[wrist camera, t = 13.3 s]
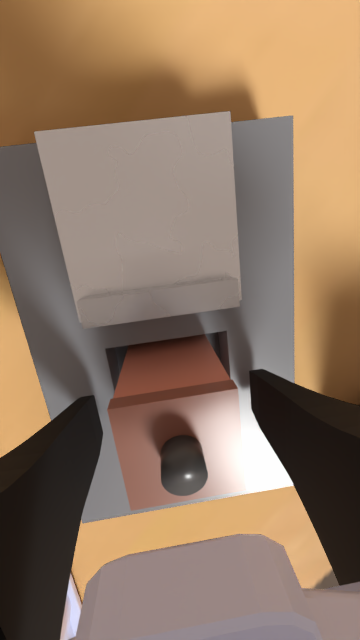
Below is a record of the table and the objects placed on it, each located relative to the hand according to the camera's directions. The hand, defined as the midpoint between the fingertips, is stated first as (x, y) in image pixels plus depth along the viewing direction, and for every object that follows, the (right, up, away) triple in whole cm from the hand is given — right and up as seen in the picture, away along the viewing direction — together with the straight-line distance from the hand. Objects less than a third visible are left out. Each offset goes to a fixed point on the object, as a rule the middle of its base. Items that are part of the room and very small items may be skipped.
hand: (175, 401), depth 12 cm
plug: (0, +1, +3) cm, 3 cm away
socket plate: (-1, +3, +3) cm, 4 cm away
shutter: (-1, +7, -1) cm, 8 cm away
